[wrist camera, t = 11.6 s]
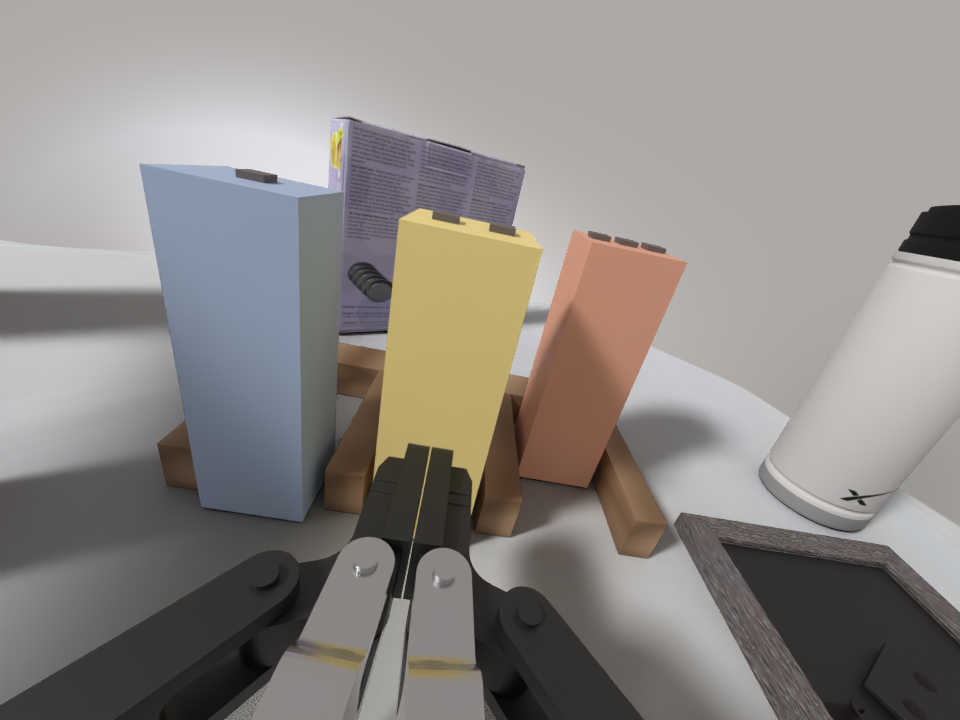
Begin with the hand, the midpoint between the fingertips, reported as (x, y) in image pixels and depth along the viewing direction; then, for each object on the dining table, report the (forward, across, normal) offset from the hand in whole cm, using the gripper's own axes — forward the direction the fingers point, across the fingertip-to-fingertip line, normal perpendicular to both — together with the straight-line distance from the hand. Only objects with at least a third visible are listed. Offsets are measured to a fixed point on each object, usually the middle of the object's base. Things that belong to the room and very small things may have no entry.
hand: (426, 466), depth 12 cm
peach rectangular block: (+10, -8, +7) cm, 14 cm away
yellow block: (+4, 0, +7) cm, 8 cm away
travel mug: (+10, -27, +7) cm, 30 cm away
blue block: (+4, +7, +7) cm, 11 cm away
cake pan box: (+30, +4, +7) cm, 31 cm away
